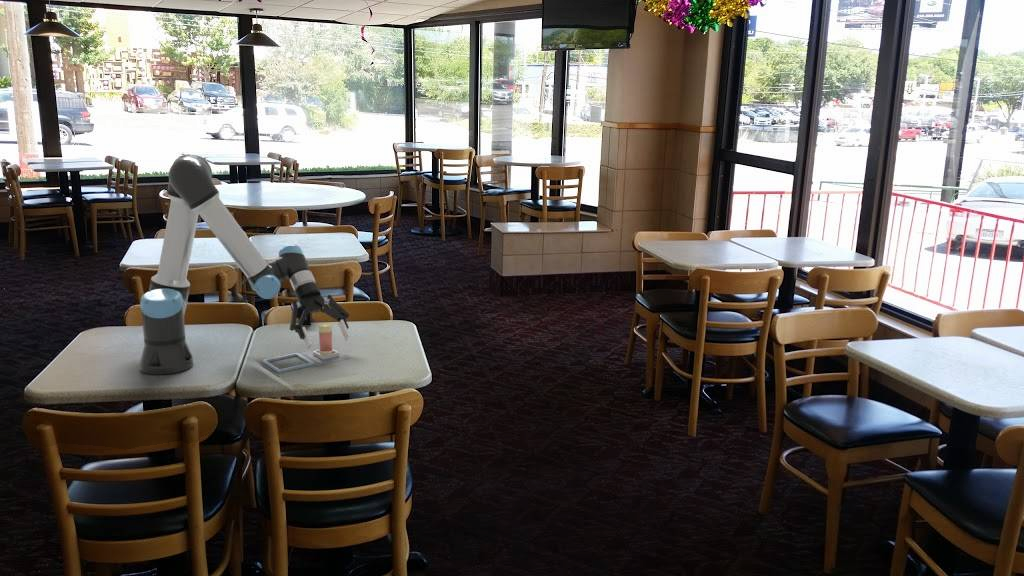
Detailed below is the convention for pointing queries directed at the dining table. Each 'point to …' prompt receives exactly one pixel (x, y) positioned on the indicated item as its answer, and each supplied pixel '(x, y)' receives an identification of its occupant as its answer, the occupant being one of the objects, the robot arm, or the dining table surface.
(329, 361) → the white rectangular frame
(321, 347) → the fuse
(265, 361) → the tray
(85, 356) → the dining table surface
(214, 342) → the dining table surface
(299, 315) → the digital camera
